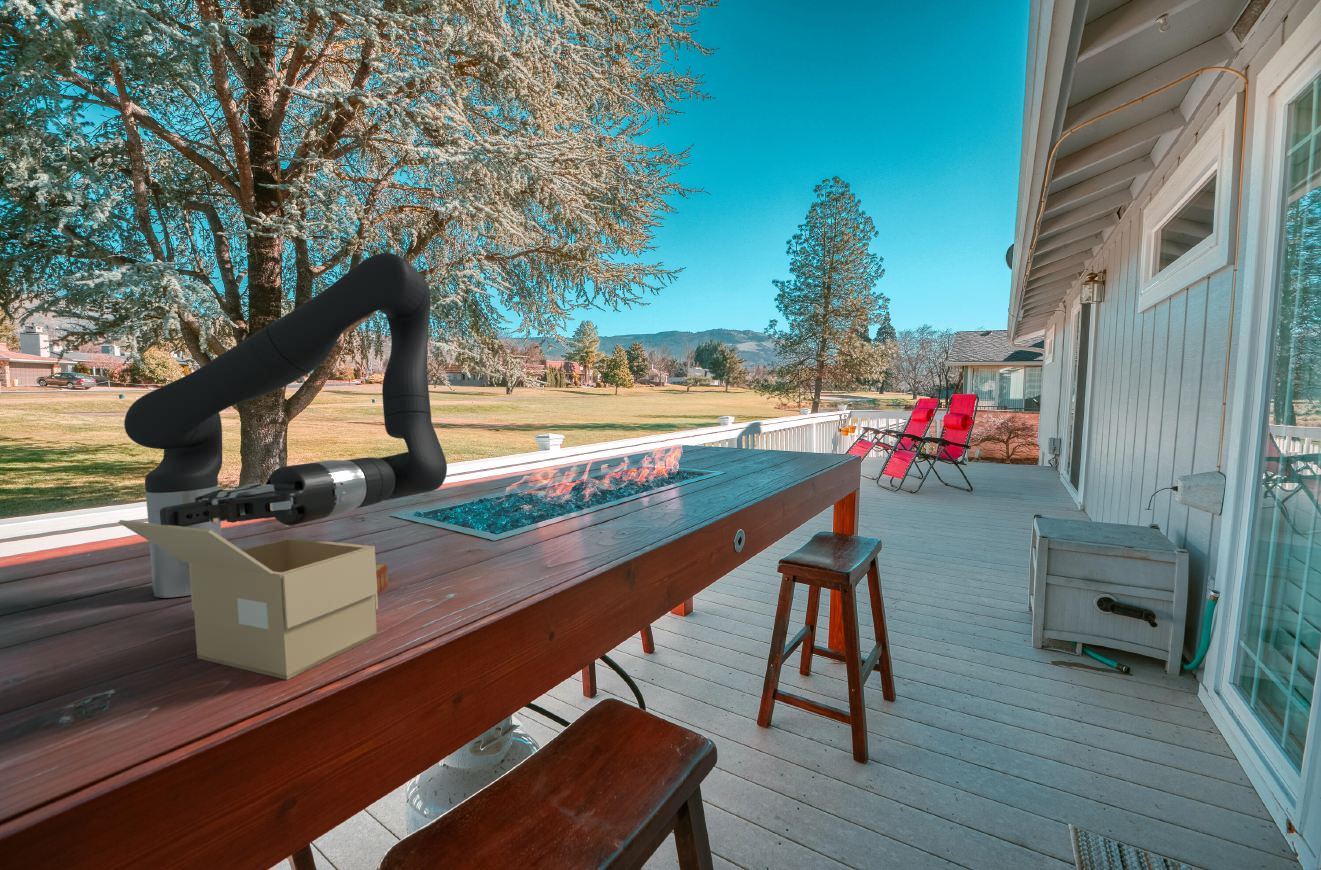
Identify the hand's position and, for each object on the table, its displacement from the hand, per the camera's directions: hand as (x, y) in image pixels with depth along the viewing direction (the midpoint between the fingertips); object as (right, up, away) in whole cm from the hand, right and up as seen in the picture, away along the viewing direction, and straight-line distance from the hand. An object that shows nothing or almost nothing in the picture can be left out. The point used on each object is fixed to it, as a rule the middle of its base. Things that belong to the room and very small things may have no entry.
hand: (164, 518), depth 58 cm
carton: (-2, -18, +32) cm, 36 cm away
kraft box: (+5, -18, +13) cm, 23 cm away
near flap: (+1, -3, +3) cm, 5 cm away
